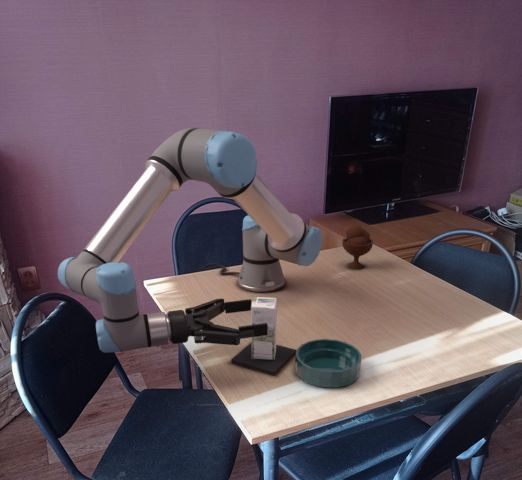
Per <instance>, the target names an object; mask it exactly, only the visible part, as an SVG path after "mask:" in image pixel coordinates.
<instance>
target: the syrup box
mask: <svg viewBox="0 0 522 480" xmlns="http://www.w3.org/2000/svg"><path fill="white" fill-rule="evenodd" d="M277 312H278V299H277V297H265V296H264V297H262V296H261V297H259V296H254V297H253V298H252V305H251V310H250V323H251V324H250V325H255V324H263V323H267V324H268V335H265V336H258V337H250V338H251V342H252V359H257V360H275V353H276V345H277V318H278V317H277V314H278V313H277Z"/></svg>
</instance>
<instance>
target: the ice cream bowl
mask: <svg viewBox="0 0 522 480" xmlns="http://www.w3.org/2000/svg"><path fill="white" fill-rule="evenodd" d="M345 235H346V237H344V238H342V240H341V243H342V247H343V250H344V251H345V252H346V253H347V254H349V255H351V256H353V261H352V262H349V263H348V265H347V267H348V268H349V269H350V270H351V269H352V270H361V269H364V265H363V264H362V263H361V262H360V261H359V259H360V257H362V256H365V255H367V254H368V253H369V252H370V251H371V250H372V248H373V245H374V240H373V239H372V238H371V234H370V233H369V231H368V230H366V229H364V228H363V227H362V226H361V225H357V224H354V225H351V226H350V227H348V228H347V229H346V232H345Z"/></svg>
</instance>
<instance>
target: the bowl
mask: <svg viewBox="0 0 522 480" xmlns="http://www.w3.org/2000/svg"><path fill="white" fill-rule="evenodd" d="M296 350H297V351H296V354H295V356H294V358H295V360H294V370H295V373H296V376H298V377H299V378H300V379H301V380H302V381H304V382H307V383H308V384H310V385H313V386H317V387H322V388H341V387H345V386H348V385H351V384H353V383H354V382H356V381H357V380H358V379H359V377H360V376H361V369H362V353H361V351H360V350H359V349H358V348H357V347H355V346H354V345H352V344H351V343H348V342H346V341H343V340H338V339H332V338H331V339H330V338H317V339H313V340H308V341H306V342H304V343H302V344H300V345H299V346H298V347H297V349H296Z"/></svg>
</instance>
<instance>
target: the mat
mask: <svg viewBox="0 0 522 480" xmlns="http://www.w3.org/2000/svg"><path fill="white" fill-rule="evenodd" d="M296 351H297V349H295V348H291V347H286V346H284V345H279V344H276V353H275V360H257V359H252V341H251V342H250V343H249V344H248V345H246V346H245V347H244V348H243V349H242V350H241V351H239V352H238V353H237V354H236V355H235V356H234V357H232V358H231V359H230V364H233V365H236V366H238V367H239V366H240V367H243V368H246V369H249V370H252V371H253V370H254V371H256V372H260V373H263V374H266V375H270V376H274V377H275V376H276V375H277V374H279V372H280V371H281V370H282V369H283V368H284V367H285V366H286V365H287V364H288V363H289V362H290V361H291V360H292V358H294V357H295V356H296Z"/></svg>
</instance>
